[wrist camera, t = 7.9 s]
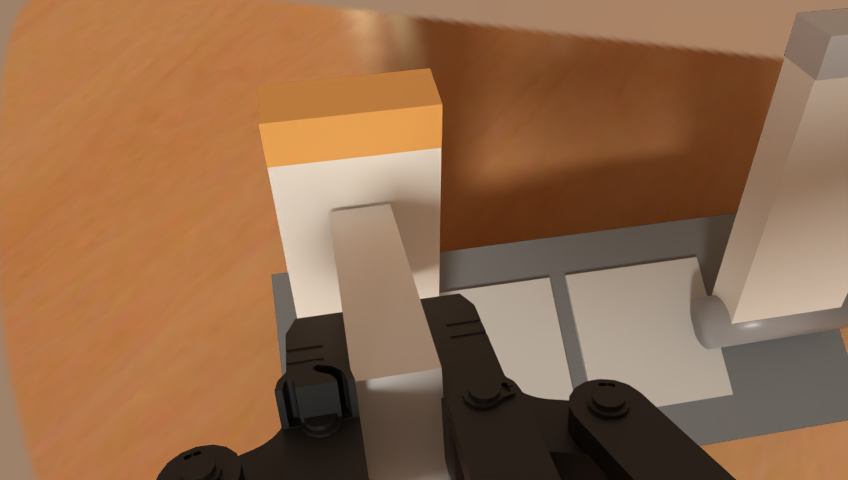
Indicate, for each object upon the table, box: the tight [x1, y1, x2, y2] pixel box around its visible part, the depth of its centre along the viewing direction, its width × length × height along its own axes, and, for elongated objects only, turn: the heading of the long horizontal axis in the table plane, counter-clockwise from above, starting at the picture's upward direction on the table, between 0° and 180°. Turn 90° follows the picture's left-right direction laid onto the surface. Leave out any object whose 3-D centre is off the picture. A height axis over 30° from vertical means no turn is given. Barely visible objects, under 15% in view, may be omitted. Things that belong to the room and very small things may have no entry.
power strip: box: [272, 213, 848, 480], centre depth 28 cm, size 26×8×4 cm, turn 99°
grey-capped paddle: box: [691, 8, 848, 349], centre depth 23 cm, size 5×2×12 cm
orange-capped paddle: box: [257, 68, 442, 318], centre depth 21 cm, size 5×2×12 cm, turn 99°
